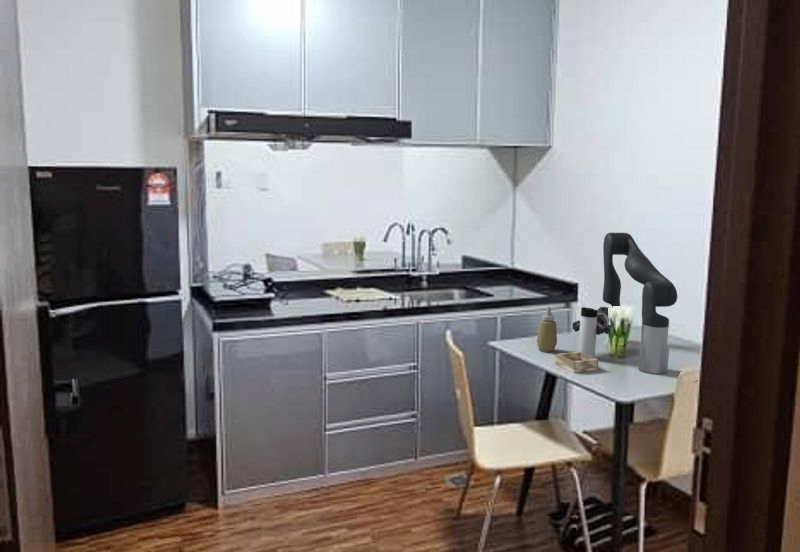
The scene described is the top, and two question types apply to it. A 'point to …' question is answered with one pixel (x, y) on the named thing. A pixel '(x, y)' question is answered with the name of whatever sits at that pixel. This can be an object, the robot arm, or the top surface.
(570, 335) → the top surface
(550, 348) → the squeeze bottle
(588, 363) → the birch dock
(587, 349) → the travel mug
